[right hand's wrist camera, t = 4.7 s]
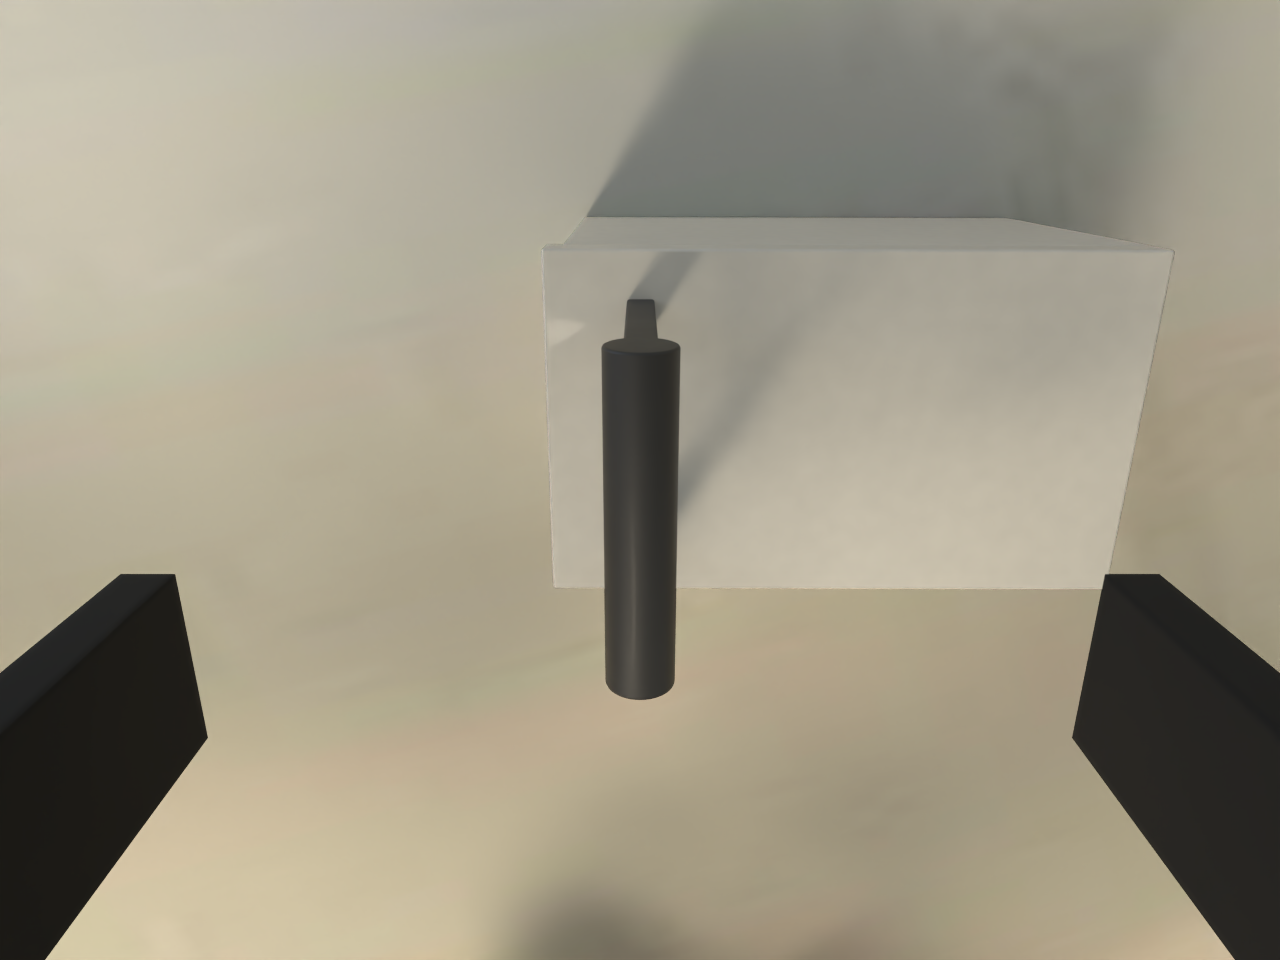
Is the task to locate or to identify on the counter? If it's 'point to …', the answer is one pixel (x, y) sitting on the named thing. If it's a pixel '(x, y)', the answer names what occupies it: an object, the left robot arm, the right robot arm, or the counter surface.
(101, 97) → the counter surface
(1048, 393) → the lid
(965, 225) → the chest
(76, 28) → the counter surface
